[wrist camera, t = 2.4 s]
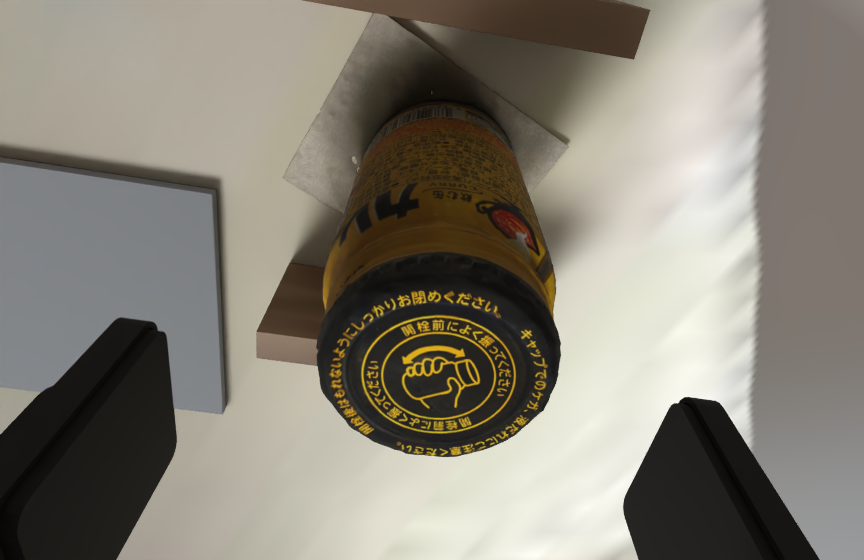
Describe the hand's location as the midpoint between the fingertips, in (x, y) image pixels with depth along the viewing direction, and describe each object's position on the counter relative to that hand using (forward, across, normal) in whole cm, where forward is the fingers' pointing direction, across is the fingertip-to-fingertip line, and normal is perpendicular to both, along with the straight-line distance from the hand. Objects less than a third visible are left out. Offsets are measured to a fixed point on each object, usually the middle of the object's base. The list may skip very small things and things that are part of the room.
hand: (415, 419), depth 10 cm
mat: (+13, +14, +8) cm, 21 cm away
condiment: (+13, 0, -1) cm, 13 cm away
